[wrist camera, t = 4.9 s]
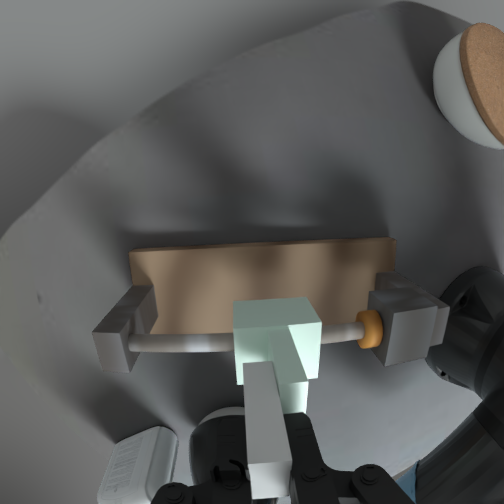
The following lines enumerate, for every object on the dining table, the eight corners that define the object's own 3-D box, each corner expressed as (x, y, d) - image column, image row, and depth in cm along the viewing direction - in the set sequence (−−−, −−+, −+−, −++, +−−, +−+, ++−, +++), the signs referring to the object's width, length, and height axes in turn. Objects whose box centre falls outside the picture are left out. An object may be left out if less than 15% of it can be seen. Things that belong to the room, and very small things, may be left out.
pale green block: (306, 296, 20) (351, 371, 12) (304, 346, 21) (339, 432, 13) (233, 301, 20) (233, 383, 11) (236, 351, 21) (239, 444, 12)
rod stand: (389, 236, 27) (461, 267, 16) (381, 321, 29) (435, 379, 19) (133, 248, 26) (77, 290, 15) (147, 337, 28) (112, 408, 17)
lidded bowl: (397, 45, 23) (458, 3, 12) (472, 52, 23) (531, 30, 12) (430, 158, 26) (509, 156, 15) (499, 148, 26) (565, 148, 15)
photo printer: (134, 459, 33) (116, 526, 21) (111, 442, 32) (86, 509, 20) (185, 439, 32) (174, 518, 20) (160, 420, 31) (141, 501, 19)
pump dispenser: (178, 433, 31) (162, 535, 17) (216, 379, 30) (209, 501, 15) (250, 457, 33) (259, 552, 18) (295, 410, 31) (324, 517, 16)
